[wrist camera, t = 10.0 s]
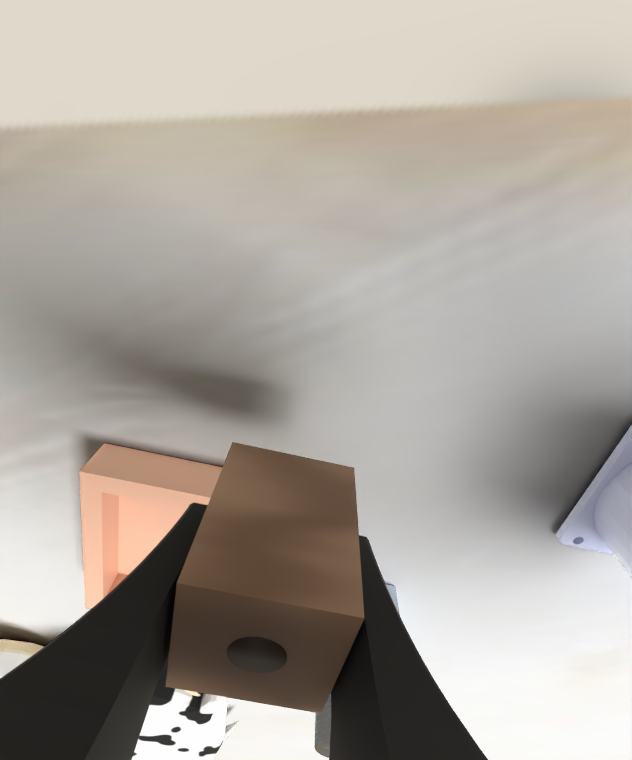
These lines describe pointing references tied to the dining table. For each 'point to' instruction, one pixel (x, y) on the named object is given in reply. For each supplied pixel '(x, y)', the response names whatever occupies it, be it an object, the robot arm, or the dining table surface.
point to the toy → (159, 715)
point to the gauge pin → (323, 729)
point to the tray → (132, 509)
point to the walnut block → (270, 583)
